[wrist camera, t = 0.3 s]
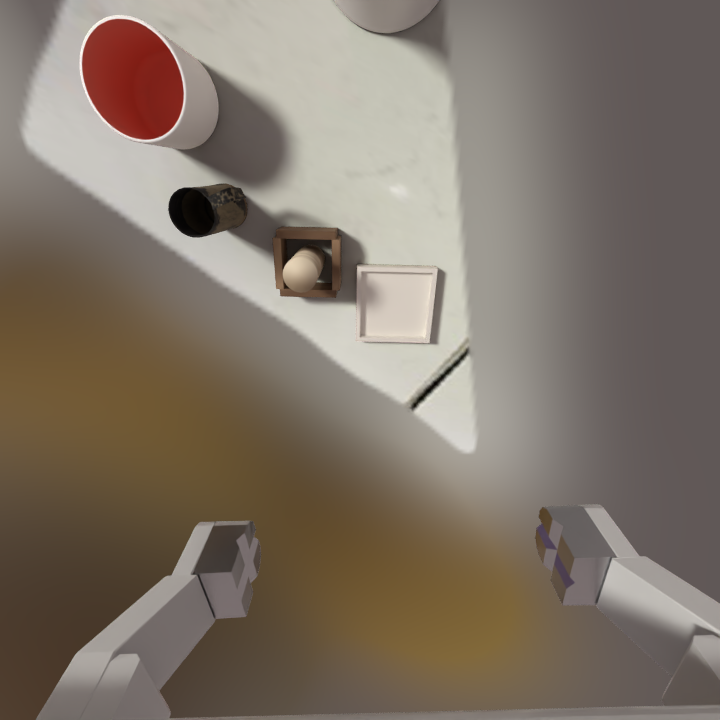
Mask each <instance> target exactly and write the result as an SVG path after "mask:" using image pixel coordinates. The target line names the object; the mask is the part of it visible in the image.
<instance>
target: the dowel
mask: <svg viewBox="0 0 720 720" xmlns="http://www.w3.org/2000/svg"><path fill="white" fill-rule="evenodd" d="M324 264H325V255H324V253H323V251H322V250H321V249H320V248H319V247H317V246H315V245H311V244H310V245H305V246H303V247H302V248H300V250H299V251H298V252H297V253H296V254H295V255H294V256H293V257H292V258H291V259H290V260H289V261H288V263H287V264H286V265H285V267H284V269H283V279H284V282H285V284H286V285H287V286H288V287H289V288H290V289H291V290H293V291H295V292H300V293H302V292H307V291H309V290H311V289H312V288H313V287H314V286H315V284H316V282H317V280H318V278H319V275H320V273H321V271H322V269H323V267H324Z"/></svg>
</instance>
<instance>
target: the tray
mask: <svg viewBox="0 0 720 720" xmlns="http://www.w3.org/2000/svg"><path fill="white" fill-rule="evenodd" d="M437 272H438V268H437V267H436V266H416V265H376V264H357V299H356V341H365V342H407V343H430V334H431V325H432V316H433V308H434V299H435V290H436V281H437Z"/></svg>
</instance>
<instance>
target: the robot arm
mask: <svg viewBox="0 0 720 720" xmlns="http://www.w3.org/2000/svg"><path fill="white" fill-rule="evenodd" d="M334 2H335V3H336V5H337V6H338V7H339V9H340V10H341V11H342V12H343V13H344V14H345V15H346V16H347V17H348V18H349V19H350V20H351V21H353V22H354V23H356V24H357V25H359V26H360V27H362V28H365V29H367V30H370V31H373V32H378V33H393V32H398V31H402V30H405V29H407V28H409V27H411V26H413V25H415V24H416V23H418V22H419V21H421V20H422V19H423V18H424V17H426V16H427V15H428V14H429V13H430V12H431V10H432V9H433V8H434V7H435V6H436V4H437V3H438V2H439V0H334ZM539 519H540V520H541V523H542V524H541V525H539V526H538V527H537V528H536V536H535V539H536V547H537V550H538V554H539V556H540V559H541V561H542V563H543V565H544V566H546V567H547V568H548V569H549V570H551V571H552V576H551V582H552V584H553V587H554V588H555V591H556V593H557V595H558V597H559V599H560V601H561V603H562V605H597V606H596V607H597V608H598V609H599V610H600V611H601V612H602V613H603V614H604V615H605V616H607V617H608V618H609V619H610V620H611V621H612V622H613V623H614V624H615V625H616V626H617V627H618V628H619V629H620V630H622V631H623V632H624V633H625V634H626V635H627V636H628V637H629V638H630V639H631V640H632V641H634V643H635V644H637V645H638V646H639V647H640V648H641V649H642V650H643V651H644V652H645V653H646V654H647V655H648V656H650V657H651V658H652V659H653V660H654V661H655V662H656V663H657V664H658V665H659V666H660V667H661V668H662V669H663V670H664V671H665V672H667V673H668V674H669V675H670V676H671V677H672V678H671V680H670V682H669V684H668V686H667V688H666V690H665V692H664V694H663V697H662V699H661V700H662V702H663V704H664V706H643V707H605V708H604V707H603V708H602V707H601V708H565V709H564V708H561V709H524V710H481V711H442V712H405V713H403V712H402V713H366V714H365V713H364V714H324V715H286V716H247V717H211V718H210V717H208V718H172V719H171V718H169V717H170V714H171V712H170V710H169V707H168V705H167V704H166V702H165V700H164V698H163V697H162V695H161V693H160V692H159V690H160V689H161V688H162V686H163V685H164V684H165V683H166V682H167V680H168V679H169V678H170V677H171V675H172V674H173V673H174V671H175V670H176V669H177V668H178V666H179V665H180V664H181V663H182V661H183V660H184V659H185V658H186V656H187V655H188V654H189V653H190V651H191V650H192V649H193V648H194V647H195V645H196V644H197V643H198V642H199V640H200V639H201V638H202V637H203V635H204V634H205V633H206V632H207V630H208V629H209V628H210V626H211V625H212V624H213V623H214V622H215V619H219V618H233V617H246V615H247V612H248V608H249V605H250V601H251V597H252V594H253V590H252V587H251V582H252V581H253V580H254V579H255V578H256V577H257V575H258V571H259V567H260V559H261V549H260V544H259V540H257V539H256V538H255V537H254V534H255V530H256V529H255V526H254V523H253V521H223V522H222V521H221V522H200V523H199V524H198V525H197V526H196V527H195V529H194V531H193V533H192V535H191V537H190V539H189V541H188V543H187V545H186V547H185V549H184V551H183V553H182V555H181V558H180V559H179V561H178V564H177V565H176V567H175V569H174V572H173V574H172V576H166V577H165V578H163V579H162V580H161V581H160V582H159V583H157V584H156V585H155V586H154V587H153V588H152V589H151V590H149V591H148V592H147V593H146V594H145V595H144V596H143V597H141V598H140V599H139V600H138V601H137V602H135V603H134V604H133V605H132V606H131V607H130V608H128V609H127V610H126V611H125V612H124V613H123V614H122V615H121V616H119V617H118V618H117V619H116V620H115V621H114V622H112V623H111V624H110V625H109V626H108V627H106V628H105V629H104V630H103V631H102V632H101V633H100V634H98V635H97V636H96V637H95V638H94V639H92V640H91V641H90V642H89V643H88V644H87V645H86V646H84V647H83V648H82V649H81V650H80V651H79V652H77V653H76V655H75V656H74V658H73V660H72V661H71V663H70V665H69V666H68V668H67V670H66V671H65V673H64V674H63V676H62V678H61V679H60V681H59V683H58V684H57V686H56V687H55V689H54V691H53V693H52V694H51V696H50V697H49V699H48V701H47V702H46V704H45V706H44V707H43V709H42V710H41V712H40V714H39V716H38V717H37V719H36V720H720V604H719V603H718V602H716V601H715V600H713V599H712V598H710V597H709V596H707V595H705V594H704V593H702V592H701V591H699V590H697V589H696V588H694V587H693V586H691V585H690V584H688V583H686V582H685V581H683V580H682V579H680V578H679V577H677V576H675V575H674V574H672V573H671V572H669V571H668V570H666V569H665V568H663V567H661V566H660V565H658V564H657V563H655V562H654V561H652V560H650V559H649V558H647V557H640V556H639V555H638V554H637V552H636V551H635V550H634V548H633V547H632V546H631V544H630V543H629V541H628V540H627V539H626V538H625V536H624V535H623V533H622V532H621V531H620V529H619V528H618V527H617V525H616V524H615V523H614V522H613V520H612V519H611V517H610V516H609V515H608V513H607V512H606V511H605V509H604V508H603V507H602V506H600V505H599V504H590V505H567V506H550V507H542V508H541V510H540V512H539Z"/></svg>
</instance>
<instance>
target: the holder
mask: <svg viewBox="0 0 720 720" xmlns="http://www.w3.org/2000/svg"><path fill="white" fill-rule="evenodd" d="M272 239H273V252H274V265H275V279H276V289H280V296H291V297H332V298H336V295H337V291H338V290H340V287H341V236H338V228H320V227H280V228H279V229H277V230H276V236H275V237H274V238H272ZM287 239H320V240H332V283H319V282H316V284H315V286H314V287H313V288H312V289H311V290H309V291H307V292H302V293H300V292H295V291H293V290H291V289H290V288H289V287H288V286H287V285H286V284H285V282H284V279H283V269H284V267H285V265H286V264H287V263H288V256H287Z"/></svg>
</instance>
